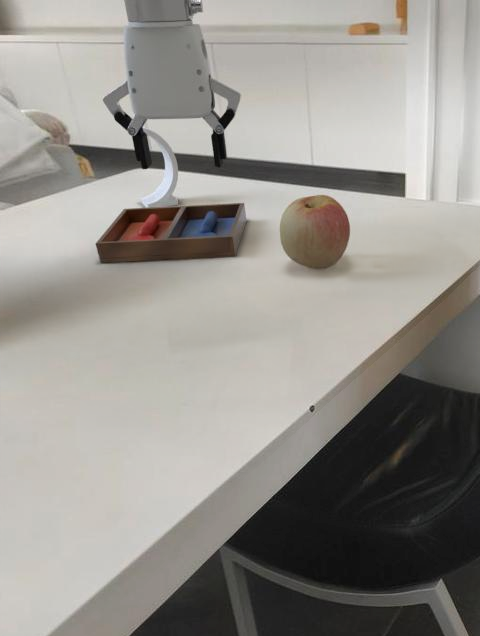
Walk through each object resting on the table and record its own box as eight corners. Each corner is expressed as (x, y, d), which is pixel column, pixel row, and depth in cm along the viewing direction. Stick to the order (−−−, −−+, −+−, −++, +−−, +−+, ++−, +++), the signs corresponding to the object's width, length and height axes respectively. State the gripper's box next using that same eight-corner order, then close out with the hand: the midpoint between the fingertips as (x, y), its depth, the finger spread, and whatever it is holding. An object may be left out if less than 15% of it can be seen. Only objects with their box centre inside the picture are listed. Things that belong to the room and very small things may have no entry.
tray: (100, 263, 91) (95, 243, 90) (128, 226, 104) (123, 208, 102) (235, 256, 91) (232, 236, 90) (246, 220, 104) (244, 202, 102)
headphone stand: (141, 203, 114) (123, 123, 107) (176, 197, 116) (161, 118, 109) (148, 209, 111) (130, 127, 103) (184, 203, 113) (169, 122, 106)
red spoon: (169, 223, 102) (166, 212, 101) (152, 249, 92) (150, 237, 91) (143, 224, 102) (141, 213, 101) (124, 251, 92) (121, 239, 91)
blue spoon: (226, 220, 102) (224, 209, 101) (215, 246, 92) (213, 234, 91) (200, 221, 102) (198, 210, 101) (187, 248, 92) (185, 236, 91)
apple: (342, 250, 92) (338, 187, 87) (358, 272, 85) (356, 205, 80) (278, 258, 90) (271, 194, 85) (289, 281, 83) (282, 213, 78)
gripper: (235, 9, 85) (250, 158, 95) (94, 11, 84) (125, 161, 94) (228, 11, 79) (245, 170, 89) (76, 14, 78) (111, 174, 88)
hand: (183, 166), depth 92 cm, fingers open, 9 cm apart
